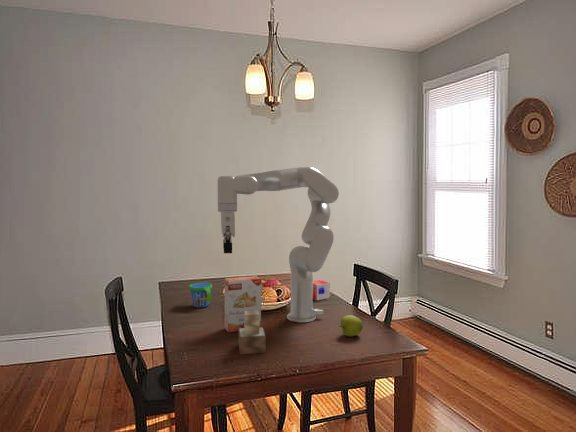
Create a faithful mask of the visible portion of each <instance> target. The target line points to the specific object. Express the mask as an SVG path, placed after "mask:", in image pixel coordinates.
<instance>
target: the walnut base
mask: <svg viewBox="0 0 576 432" xmlns="http://www.w3.org/2000/svg"><path fill="white" fill-rule="evenodd" d="M266 338H267V337H266V333H265V330H264V327H262V326H261V327H259V334H245V330H244V328H239V331H238V348H239V350H238V351H239V354H240V355H246V354H247V355H248V354H265V353H267V351H266V349H267V348H266V343H267V341H266Z"/></svg>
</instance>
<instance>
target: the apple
mask: <svg viewBox="0 0 576 432" xmlns="http://www.w3.org/2000/svg"><path fill="white" fill-rule="evenodd" d="M339 328H341V330H342V331H341V332H342V333H343V334H344V335H345V336H346V337H355V336H357V335H359V334H360V333H361V332H362V331H363V328H364V326H363V321H362V320H361V319H360V318H359V317H357V316H355V315H352V314H351V315H350V314H349V315H348V314H347V315H344V316H343V317H342V319H341V320H340V325H339Z"/></svg>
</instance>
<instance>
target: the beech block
mask: <svg viewBox="0 0 576 432" xmlns="http://www.w3.org/2000/svg"><path fill="white" fill-rule="evenodd" d="M244 330H245V334H259V311H258V310H253V311H244Z"/></svg>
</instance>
